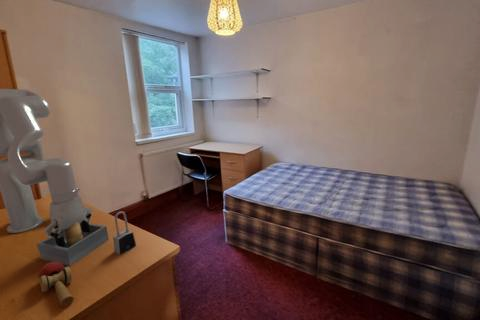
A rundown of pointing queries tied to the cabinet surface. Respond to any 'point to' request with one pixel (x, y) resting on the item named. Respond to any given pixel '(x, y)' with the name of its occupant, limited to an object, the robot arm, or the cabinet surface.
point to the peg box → (73, 246)
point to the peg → (73, 234)
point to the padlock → (123, 238)
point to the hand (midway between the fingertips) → (74, 238)
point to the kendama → (57, 281)
